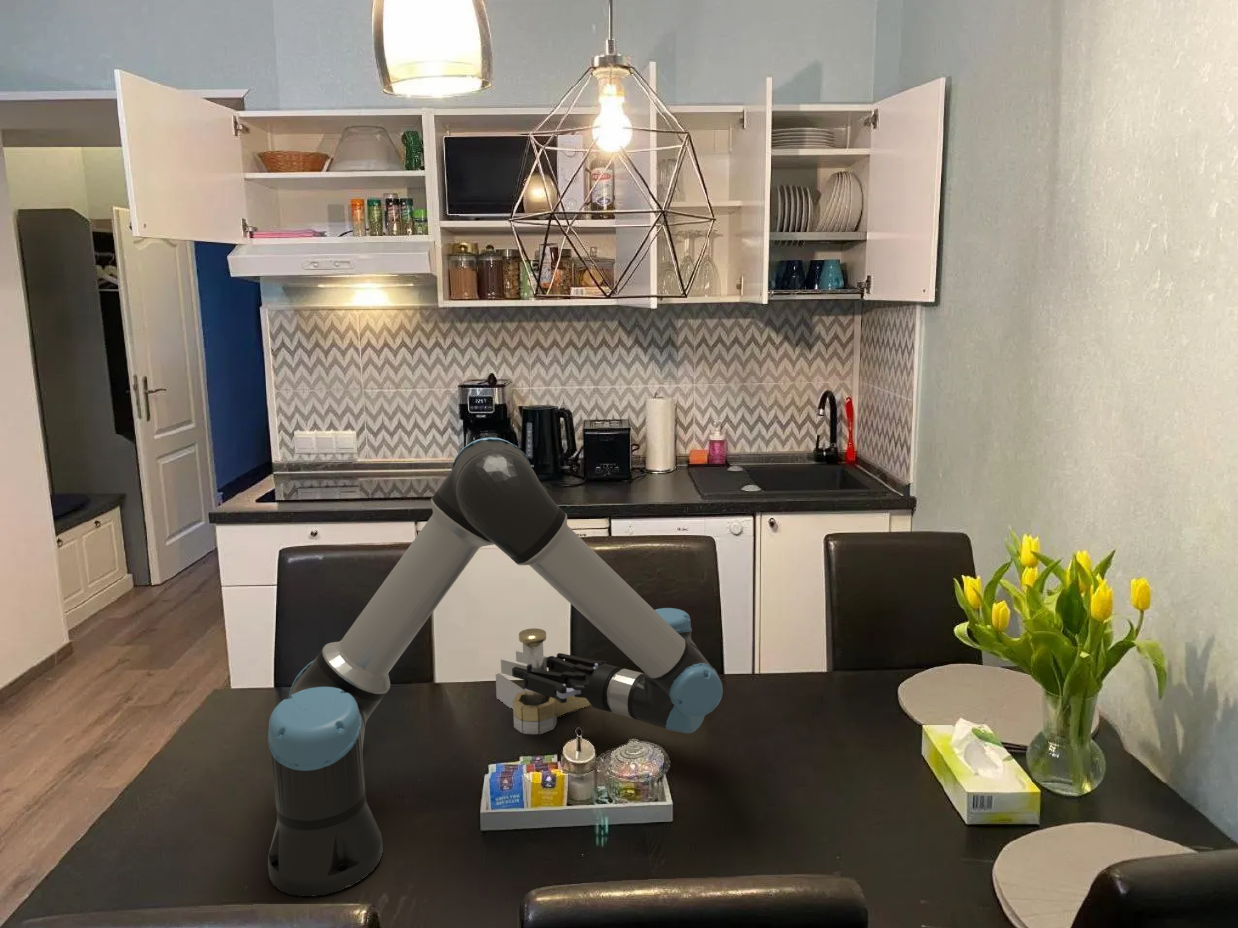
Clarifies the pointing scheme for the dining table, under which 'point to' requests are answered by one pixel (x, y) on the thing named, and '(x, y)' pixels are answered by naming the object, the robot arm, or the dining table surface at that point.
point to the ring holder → (534, 707)
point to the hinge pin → (533, 659)
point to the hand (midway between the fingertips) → (510, 661)
